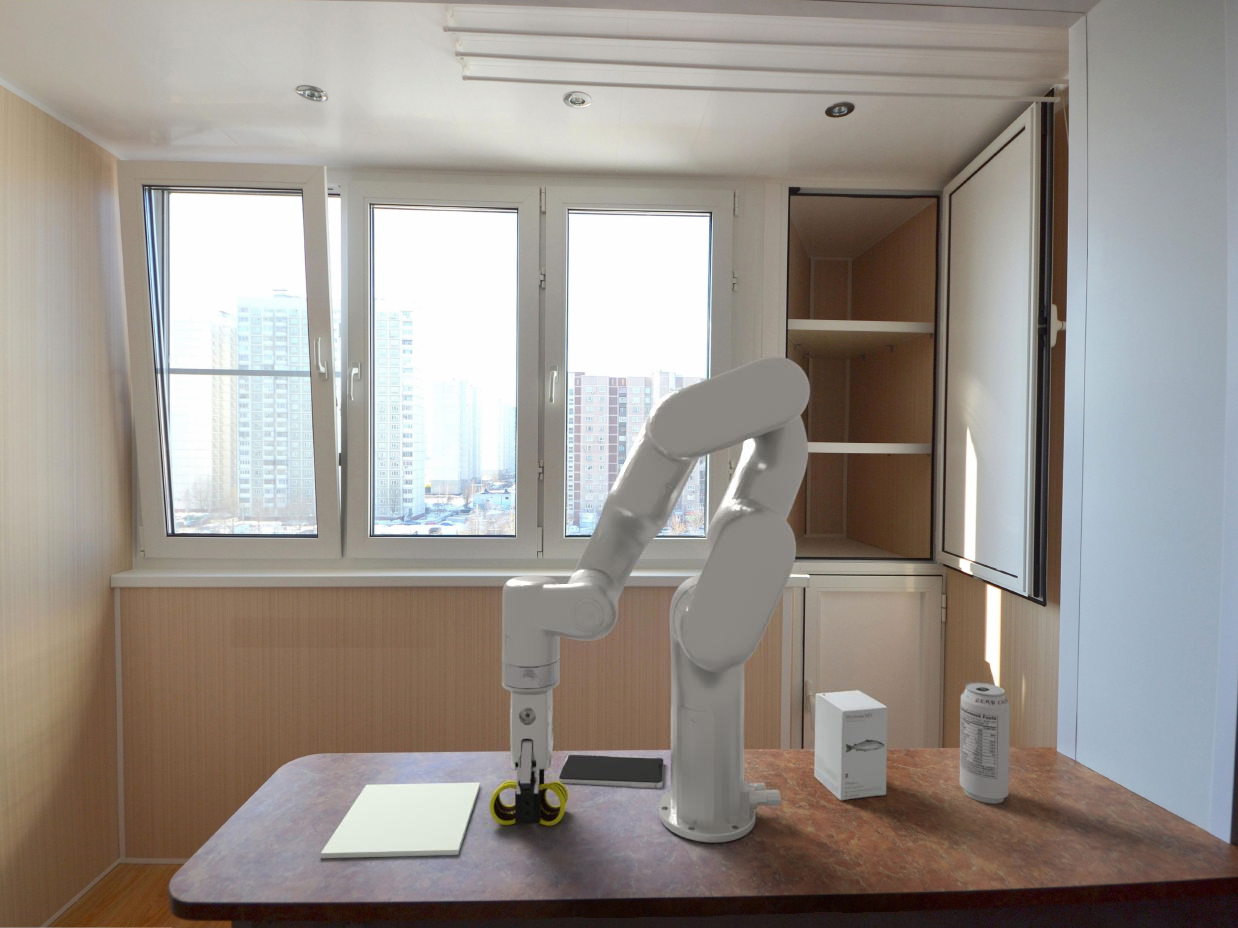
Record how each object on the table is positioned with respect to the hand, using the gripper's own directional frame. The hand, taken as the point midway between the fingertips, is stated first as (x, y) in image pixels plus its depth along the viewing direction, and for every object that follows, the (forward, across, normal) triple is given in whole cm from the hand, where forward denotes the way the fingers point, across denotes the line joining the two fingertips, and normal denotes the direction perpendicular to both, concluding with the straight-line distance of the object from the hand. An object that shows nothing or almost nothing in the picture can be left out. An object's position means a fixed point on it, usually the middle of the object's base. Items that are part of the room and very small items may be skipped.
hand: (530, 807), depth 86 cm
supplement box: (+1, +6, -45) cm, 46 cm away
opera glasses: (+1, 0, 0) cm, 1 cm away
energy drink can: (+1, +3, -63) cm, 63 cm away
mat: (+1, 0, +16) cm, 16 cm away
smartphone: (+2, +12, -11) cm, 16 cm away
